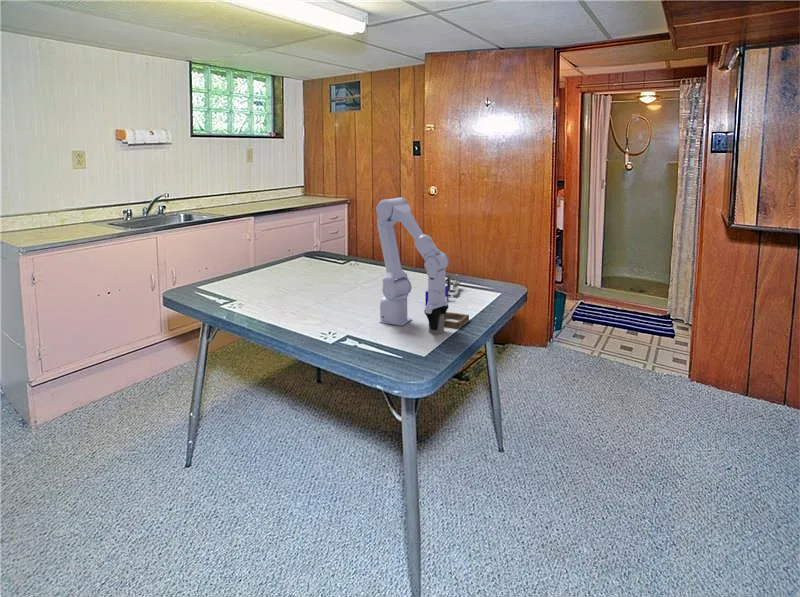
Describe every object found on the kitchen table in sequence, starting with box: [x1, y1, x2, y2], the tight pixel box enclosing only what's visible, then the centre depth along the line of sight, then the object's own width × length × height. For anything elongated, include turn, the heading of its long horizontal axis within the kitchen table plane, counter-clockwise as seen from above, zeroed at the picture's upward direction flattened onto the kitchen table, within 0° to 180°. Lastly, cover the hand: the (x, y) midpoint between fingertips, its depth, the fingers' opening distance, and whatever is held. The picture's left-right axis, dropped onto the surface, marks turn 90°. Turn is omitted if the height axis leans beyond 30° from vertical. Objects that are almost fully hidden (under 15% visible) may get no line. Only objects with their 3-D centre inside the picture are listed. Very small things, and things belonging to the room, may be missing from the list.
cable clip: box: [424, 285, 449, 307], centre depth 214 cm, size 12×4×6 cm, turn 142°
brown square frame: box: [444, 311, 470, 330], centre depth 192 cm, size 10×10×2 cm
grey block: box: [428, 314, 445, 335], centre depth 182 cm, size 4×4×6 cm
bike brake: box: [424, 273, 461, 301], centre depth 227 cm, size 14×7×20 cm
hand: (436, 327), depth 183 cm, fingers closed on grey block, 4 cm apart
